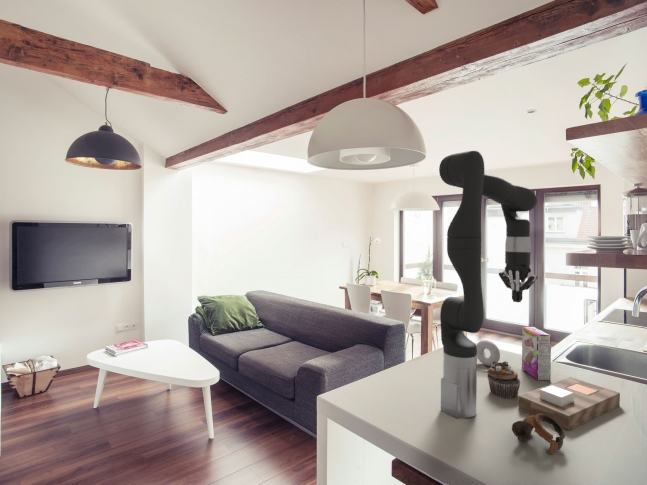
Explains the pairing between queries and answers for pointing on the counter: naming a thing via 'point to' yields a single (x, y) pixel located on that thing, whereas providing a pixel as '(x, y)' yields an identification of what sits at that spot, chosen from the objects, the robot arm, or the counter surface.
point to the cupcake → (503, 380)
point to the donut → (493, 351)
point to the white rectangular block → (556, 395)
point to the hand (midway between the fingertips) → (517, 301)
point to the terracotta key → (582, 389)
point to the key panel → (571, 404)
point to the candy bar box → (536, 353)
